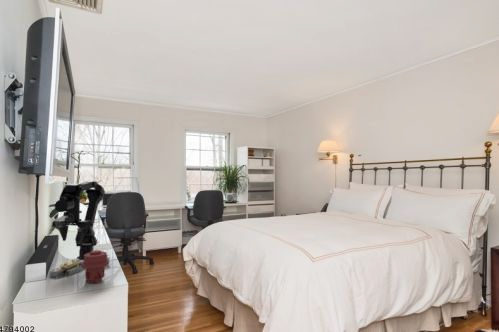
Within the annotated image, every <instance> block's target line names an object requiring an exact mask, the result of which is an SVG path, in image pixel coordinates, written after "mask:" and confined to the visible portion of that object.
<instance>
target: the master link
mask: <svg viewBox="0 0 499 332" xmlns="http://www.w3.org/2000/svg"><path fill="white" fill-rule="evenodd" d="M79 261H80V260H75V259H72V260H70V261H67V262H65V261H64V263H62V264H60V265H59V267H60V268H61V269H65V275H67V271H68V270H70V269H73V268H76V267H78V266H79Z"/></svg>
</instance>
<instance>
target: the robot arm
mask: <svg viewBox="0 0 499 332" xmlns="http://www.w3.org/2000/svg"><path fill="white" fill-rule="evenodd" d="M84 192H85V194H86V195H87V196H86V198H87V200H88V206H87V209H86V211H85V212H86V213H85V216H84V220H82V218H80V215H81V214H82V210H80V207H81V206H80V205H81V200H82V197H81V196H82V194H84ZM105 194H106V192H105V189H104V187H103V186H102V185H101V184H99V183H98V182H97V181H96V180H86V181H83V182H80V183H67V184H65V185H64V187H63V189H62V191H61V193H60V196H59V200H56V202H55V204H54V209H55V210H56V211H57V212H58V213H59V212H60V213H63V214H62V215H61V216H59V217H58V218H56V219H54V220H53V221H52V223H51V224H52V225H51V227H52V228H53V227H54V229H56V230H58V232H59V234H60V236H61V239H62V241H63V242H64V241H65V242H66V240H67V238H68V233H69V232H68V231H69V226H74V227H76V226H77V228H76V230H77V233H76V236H75V245H76V247H79V251H78V255H79V256H77V257H76V258H77V259H82V260H84V255H85V254H87V253H90V252H91V251H94V247H95V246H97V244H98V239H97V238H96V236H95V235H96V232H95V230H94V224H95V219H96V216H97V215H96V214H97V212H98V208H99V204H100V203H101V202H102V201H103V199H104V196H105Z"/></svg>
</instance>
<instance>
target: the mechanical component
mask: <svg viewBox="0 0 499 332" xmlns="http://www.w3.org/2000/svg"><path fill="white" fill-rule="evenodd" d="M107 255H108V254H107V251H102V250H100V249H95V250H93V251H91V252H90V253H87V254H85V255H84V259H83V261H84V262H82V264H81V267H82V268H84V270H85V274H84V275H85V276H84V277H85V283H91V284H92V283H93V284H100V281H101V280H102V279H103V278H104V277H105V269H106V268H105V267H108V266H107V265H108V264H109V265H110V259H109V260H108V259H107Z"/></svg>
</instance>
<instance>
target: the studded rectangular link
mask: <svg viewBox="0 0 499 332" xmlns="http://www.w3.org/2000/svg"><path fill="white" fill-rule="evenodd" d="M78 261H79V266H78V267H76V268H73V269H70V270H68V271H67V274H65V269H61V268H60V266H59V267H57V268H53V269H52V270H50V271H49V278H54V279H60V278H61V277H62V278H63V277H65V276H68V275H69V276H72V275H74V274H76V273H79V272H81V271H84V270H85V269H84V268H82V267H81V264H82V262H84V259H82V260H78Z"/></svg>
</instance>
